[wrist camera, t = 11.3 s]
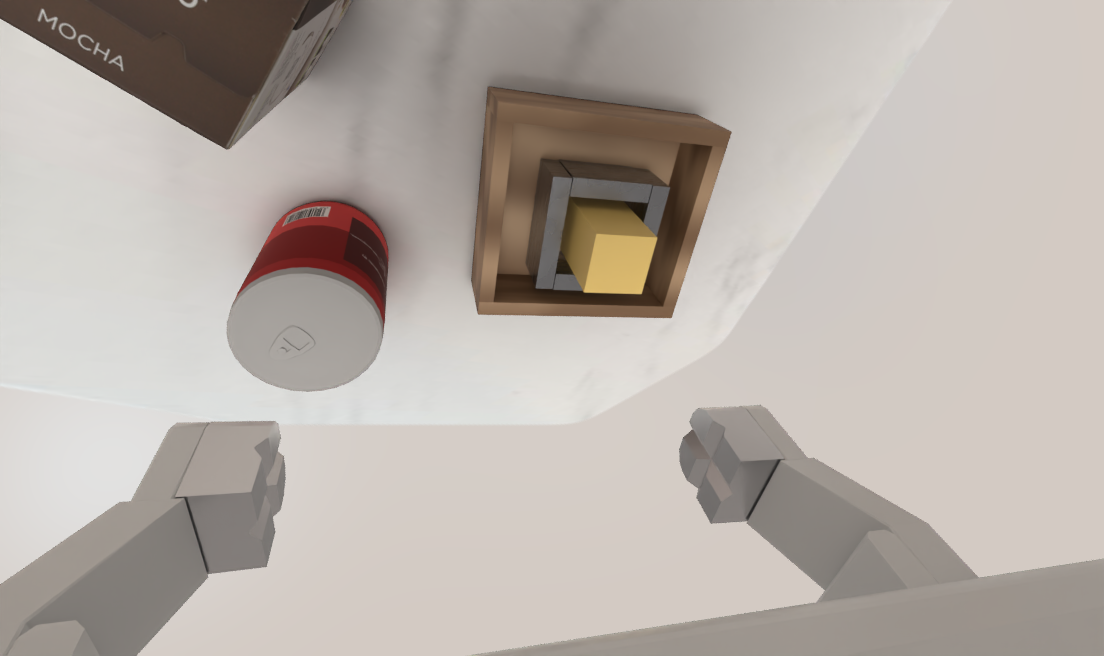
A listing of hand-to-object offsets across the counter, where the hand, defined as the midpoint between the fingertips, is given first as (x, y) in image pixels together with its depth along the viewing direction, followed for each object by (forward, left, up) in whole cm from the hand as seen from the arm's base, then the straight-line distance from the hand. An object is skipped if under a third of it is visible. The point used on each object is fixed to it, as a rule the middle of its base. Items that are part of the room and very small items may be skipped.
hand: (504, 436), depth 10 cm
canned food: (+10, -7, -29) cm, 32 cm away
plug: (+6, +11, -28) cm, 31 cm away
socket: (+6, +11, -28) cm, 31 cm away
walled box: (+5, +10, -29) cm, 31 cm away
